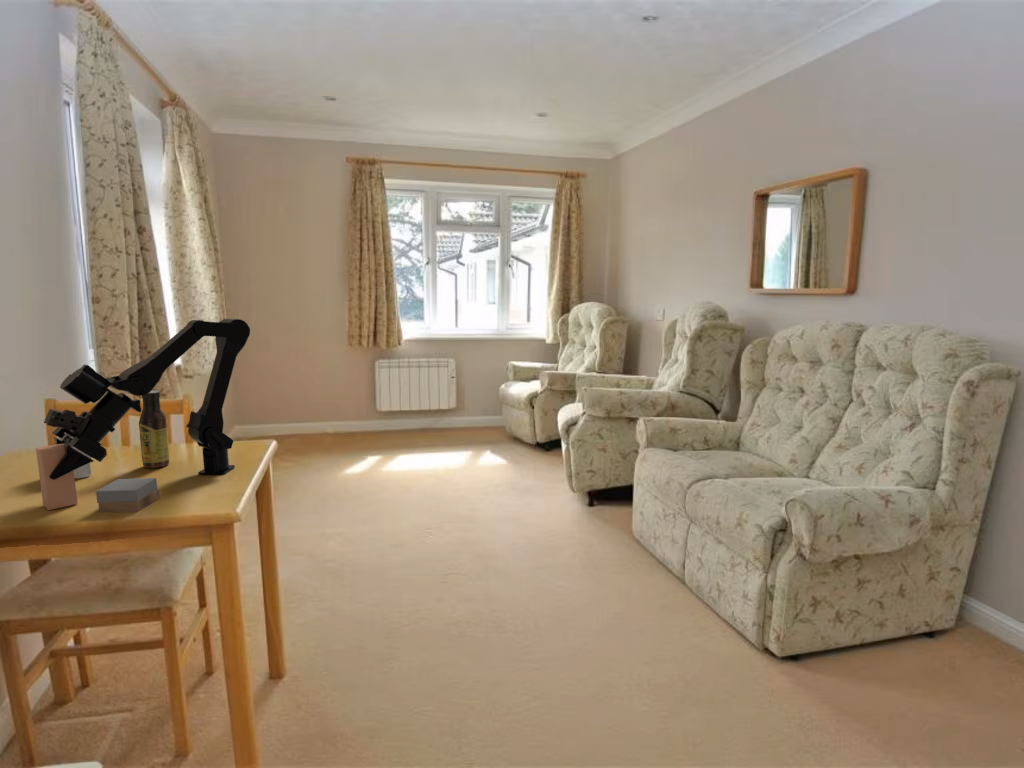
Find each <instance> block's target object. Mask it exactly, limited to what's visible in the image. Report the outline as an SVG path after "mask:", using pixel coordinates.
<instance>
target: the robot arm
mask: <svg viewBox="0 0 1024 768" xmlns="http://www.w3.org/2000/svg"><path fill="white" fill-rule="evenodd" d="M250 334H251V327H250V326H249V324H248V323H247V322H246V321H245V320H243V319H241V318H240V319H237V318H224V319H222V320H220V321H205V320H201V319H191V320H190V321H189V322H188V323H187V324H186V325H185V326H184V327H182V329H180V331H178V332H177V333H176V334H175V335H173V337H171V338H170V339H169V340H167V342H165V343H164V344H163V345H162V346H160V347H159V348H158V349H157V350H156V351H154V353H152V354H151V355H150V356H149V357H147V358H145V359H143V360H141V361H139V362H136V363H135V364H133V365H131V366H130V367H128V368H126V369H124V370H123V371H121V372H120V374H119V375H116V376H115V375H114V376H109V377H104V376H103V375H101V374H100V373H99V372H96V370H94V368H92V367H91V366H90V365H88V364H83V365H82V366H80V368H78V369H76V370H75V371H73V373H70V374H68V376H67V377H65V378H64V380H63V381H62V382H61V384H60V386H59V388H60V389H61V390H62V391H64V392H65V393H67V394H69V395H71V397H74V398H75V399H77V400H78V401H80V402H81V403H83V404H85V405H86V404H89V403H92V404H95V403H96V404H95V405H93V407H92V408H91V409H89V411H86V410H85V411H82V412H81V413H80V414H79V415H77V414H76V411H74V410H69V409H64V410H57V409H53V408H48V412H47V414H46V416H45V419H44V421H43V423H44V424H46V425H47V426H50V427H53V428H55V429H54V430H53V431H52V432H51V433H52V434H53V435H54V436H56V437H53V440H54V445H57V444H63V443H65V444H64V448H65V454H64V456H63V457H62V459H61V460H60V462H59V463H58V464H57V466H56V467H55V469H54V470H53V472H52V473H51V475H50V476H49V477H50V478H51V479H53V480H55V479H57V478H59V477H61V476H63V475H65V474H67V473H69V472H71V471H73V470H75V469H77V468H79V467H82V466H84V465H86V464H88V463H90V464H91V463H93V462H94V461H95V460H96V461H97V462H99V463H101V462H102V461H104V459H105V458H106V457H107V453H108V452H107V448H105V447H103V446H102V443H100V442H102V440H103V439H104V438H105V437H106V436H107V435H108V434H109V432H110V433H114V431H115V430H116V428H115V426H116V424H117V423H119V421H120V420H121V419H122V418H123V417H124V416H125V415H126V414H127V413H128V412H129V411H130V409H132V410H133V411H134V412H138V413H142V410H143V409H142V406H141V400H140V399H137V398H135V399H132V398H131V397H129V396H128V395H126V394H125V393H127V394H129V395H133V396H136V397H137V396H138V397H140V396H141V397H142V396H144V395H146V394H148V393H149V392H151V391H153V390H154V388H155V387H156V386H157V384H158V383H159V382H160V380H161V378H162V376H163V374H164V373H165V372H166V371H167V369H168V368H169V367H171V365H173V364H174V363H175V362H176V361H177V360H179V359H180V358H181V357H182V355H184V354H185V353H187V351H188V350H190V348H192V347H193V346H195V344H196V343H198V342H199V341H200V340H201V339H202V338H204V337H215V338H214V339H215V346H216V354H215V357H214V362H213V365H212V369H211V372H210V375H209V380H208V382H207V386H206V390H205V393H204V398H203V402H202V405H201V406H200V408H199V409H198V410H197V411H190V414H189V421H188V423H187V424H186V425H185V427H186V428H188V430H187V433H188V435H189V437H190V438H191V440H193V441H194V442H196V443H197V445H198V446H199V447H201V448H202V460H203V461H202V462H203V468H202V469H201V470H199V471H198V473H197V475H225V474H227V473H228V472H229V471H231V470H232V469H234V468H235V464H230V463H229V462H230V461H229V460H230V459H229V450H230V449H232V446H233V444H234V440H233V438H231V437H229V436H228V435H226V434H225V433H224V425H225V424H224V415H223V414H224V413H223V408H224V404H225V400H226V396H227V393H228V388H229V385H230V381H231V378H232V374H233V371H234V367H235V363H236V360H237V357H238V355H239V353H241V351H242V350H243V348H244V347H245V345H246V344H247V341H248V339H249V337H250ZM109 388H111V389H114V390H116V391H120V392H119V393H115V392H114V391H112V390H111V389H109ZM121 391H123V392H121ZM57 436H58V437H59V438H58V439H57ZM66 444H67V445H66Z"/></svg>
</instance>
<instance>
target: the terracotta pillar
mask: <svg viewBox="0 0 1024 768" xmlns="http://www.w3.org/2000/svg"><path fill="white" fill-rule="evenodd" d="M64 444H65V443H63V444H57V445H55V444H52V445H51V444H50V445H44V446H38V447H35V452H36V460H37V467H38V474H39V483H40V490H41V497H42V505H43V506H44V507H45V509H47V510H48V511H50V510H55V509H60V508H65V507H70V506H74V505H78V496H77V488H76V487H77V486H76V480H75V479H76V478H74V470H73V471H71V472H69V473H67V474H65V475H63V476H61V477H59V478H57V479H55V480H53V479H51V478H50V477H49V476H50V475H51V473H52V472H53V470H54V469H55V467H56V466H57V464H58V463H59V462H60V460H61V459H62V457H63V456H64V454H65V448H64ZM66 445H67V444H66Z"/></svg>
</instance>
